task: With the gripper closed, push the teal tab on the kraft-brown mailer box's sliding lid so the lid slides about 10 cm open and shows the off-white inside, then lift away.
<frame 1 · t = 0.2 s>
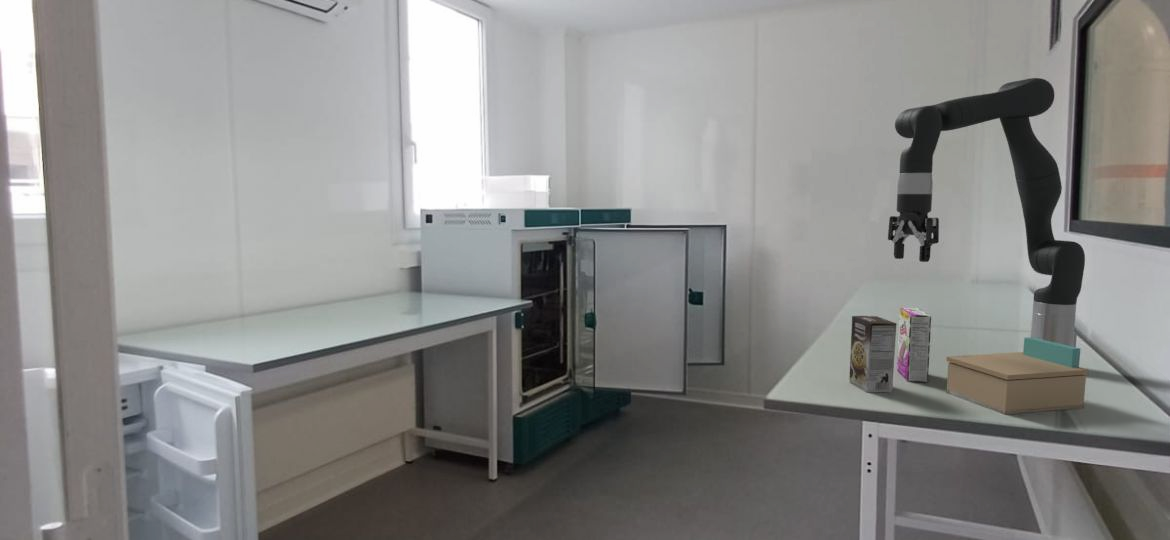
hand: (911, 260, 165), 29 cm above the table, fingers open, 8 cm apart
lid: (1015, 356, 149), point 10 cm above the table, slide at 0.0 cm
mailer box: (1012, 399, 150), on the table
candy bar box: (911, 377, 169), on the table
brown upright rectangular box: (870, 387, 160), on the table
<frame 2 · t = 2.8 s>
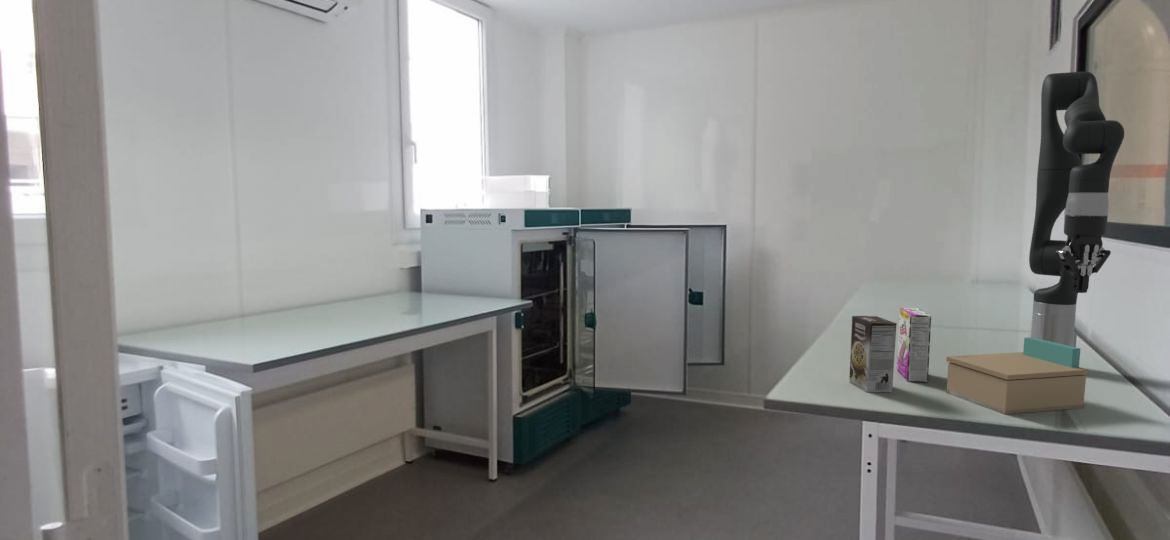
hand: (1079, 292, 151), 23 cm above the table, fingers closed
nothing on the table moved.
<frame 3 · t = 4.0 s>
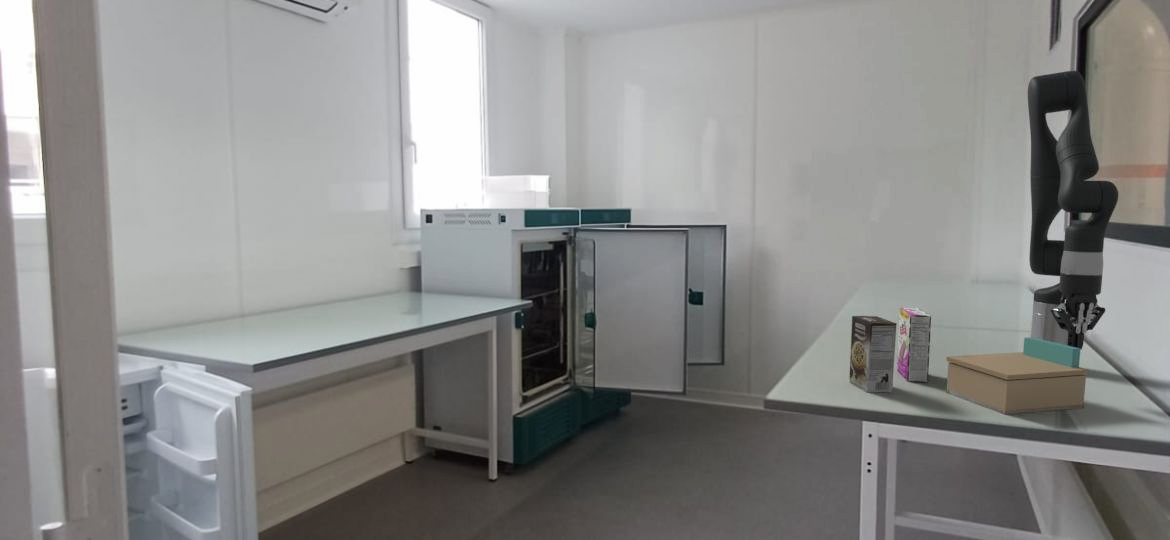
hand: (1074, 349, 152), 11 cm above the table, fingers closed
nothing on the table moved.
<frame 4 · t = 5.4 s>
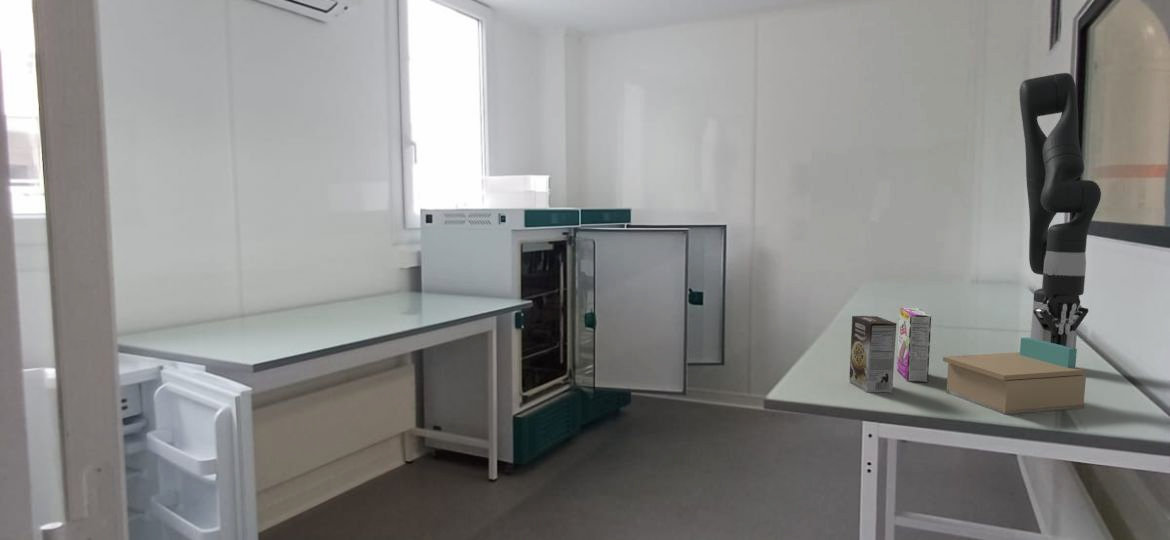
hand: (1057, 350, 151), 11 cm above the table, fingers closed
lid: (1012, 356, 149), point 10 cm above the table, slide at 1.0 cm, touching gripper
everything else where it was.
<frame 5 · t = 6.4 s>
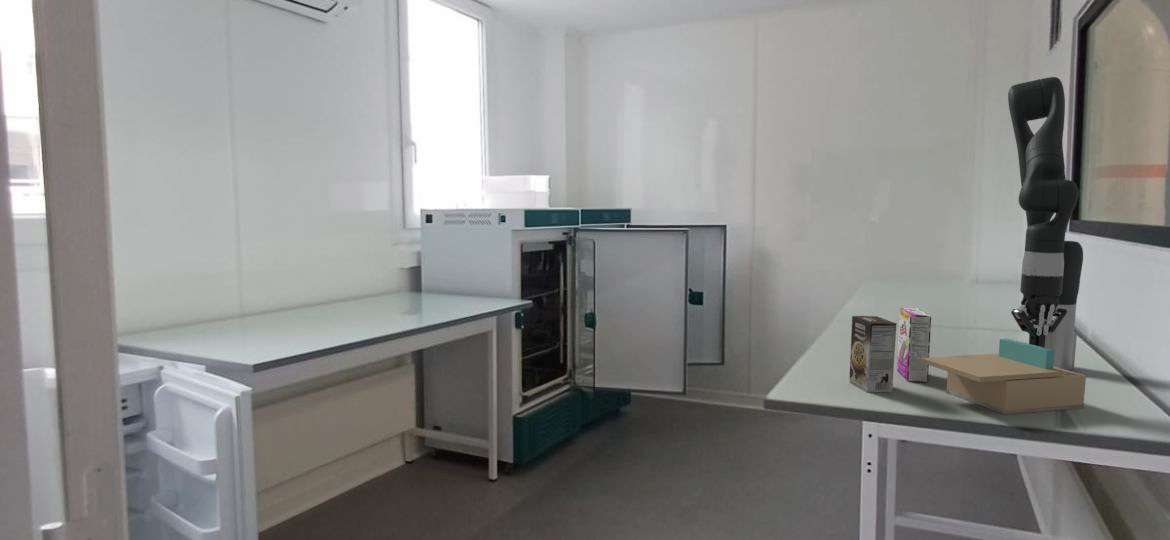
hand: (1036, 351, 150), 11 cm above the table, fingers closed
lid: (989, 357, 147), point 10 cm above the table, slide at 6.8 cm, touching gripper
everything else where it was.
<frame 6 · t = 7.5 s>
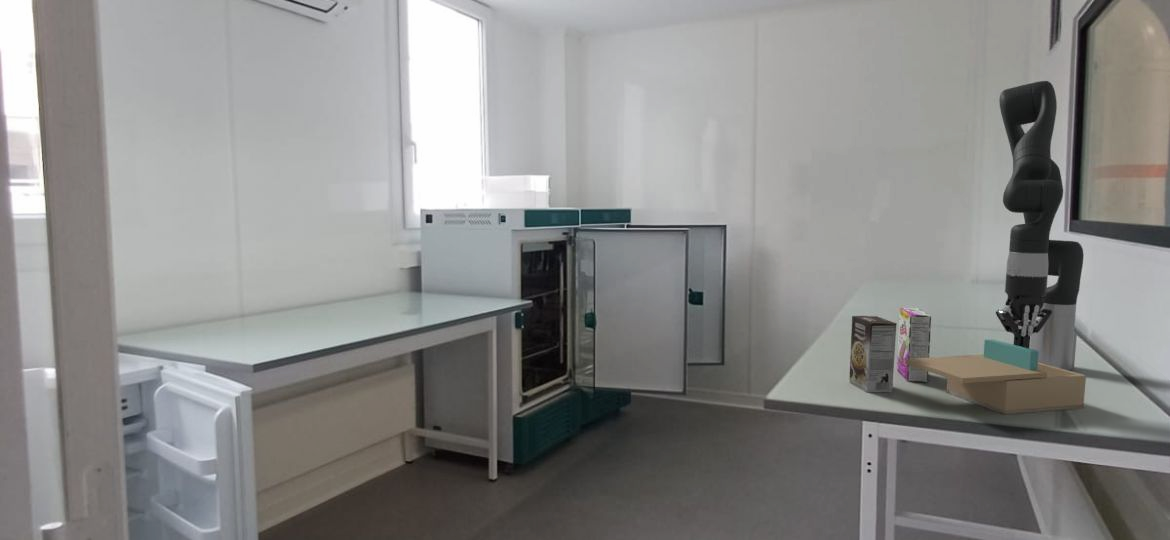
hand: (1020, 352, 149), 11 cm above the table, fingers closed
lid: (973, 358, 146), point 10 cm above the table, slide at 10.8 cm, touching gripper
everything else where it was.
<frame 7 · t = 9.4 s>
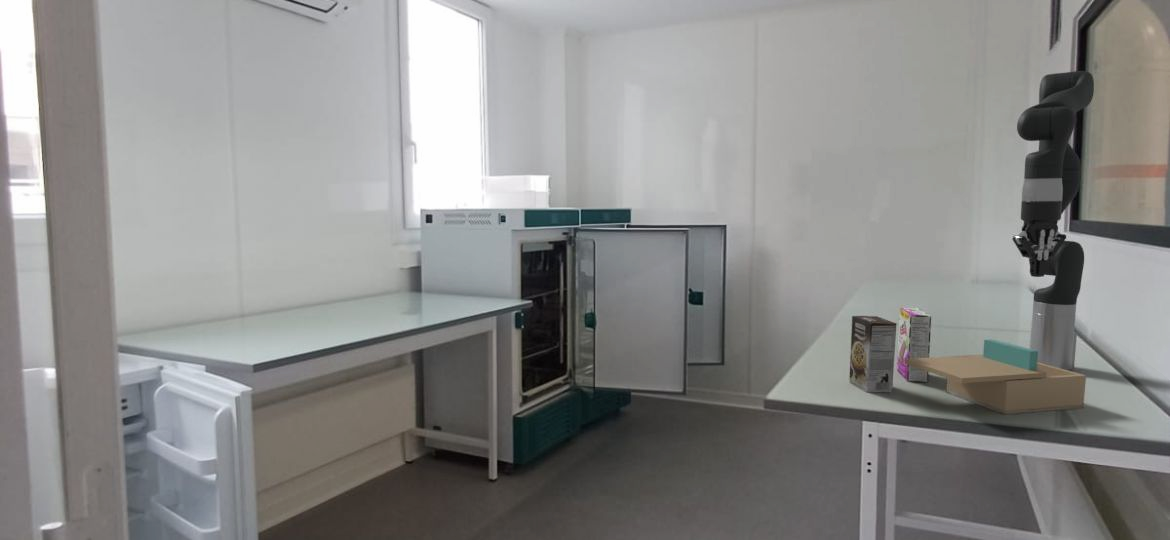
hand: (1037, 276, 154), 26 cm above the table, fingers closed
lid: (973, 358, 146), point 10 cm above the table, slide at 11.0 cm
everything else where it was.
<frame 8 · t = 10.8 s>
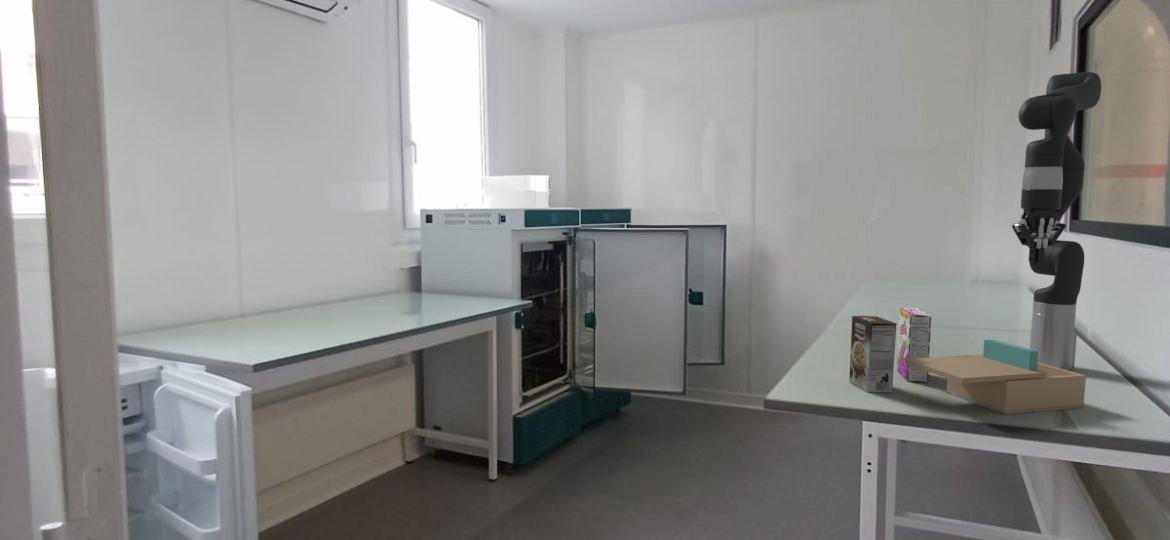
hand: (1035, 264, 155), 29 cm above the table, fingers closed
nothing on the table moved.
at the end: lid slide at 11.0 cm; brown upright rectangular box moved 0.2 cm from its start; candy bar box moved 0.2 cm from its start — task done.
